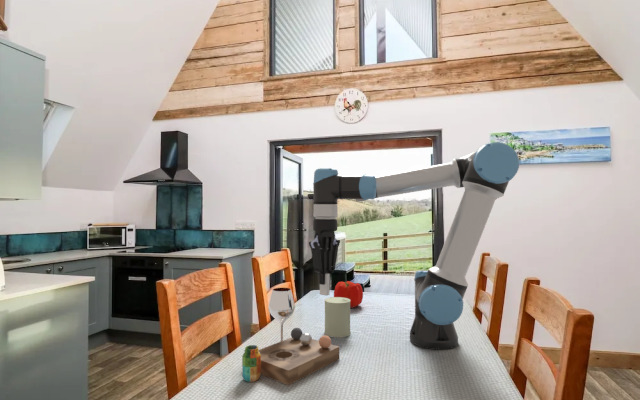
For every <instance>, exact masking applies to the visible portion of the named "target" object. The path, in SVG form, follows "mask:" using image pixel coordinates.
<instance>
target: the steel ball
mask: <svg viewBox="0 0 640 400" xmlns="http://www.w3.org/2000/svg"><path fill="white" fill-rule="evenodd" d="M312 339H313V337H312V335H311V334H310V333H308V332H304V333H302V335H301V337H300V342H301V344H302V345H304V346H308V345H310V344H311V342H312Z"/></svg>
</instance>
